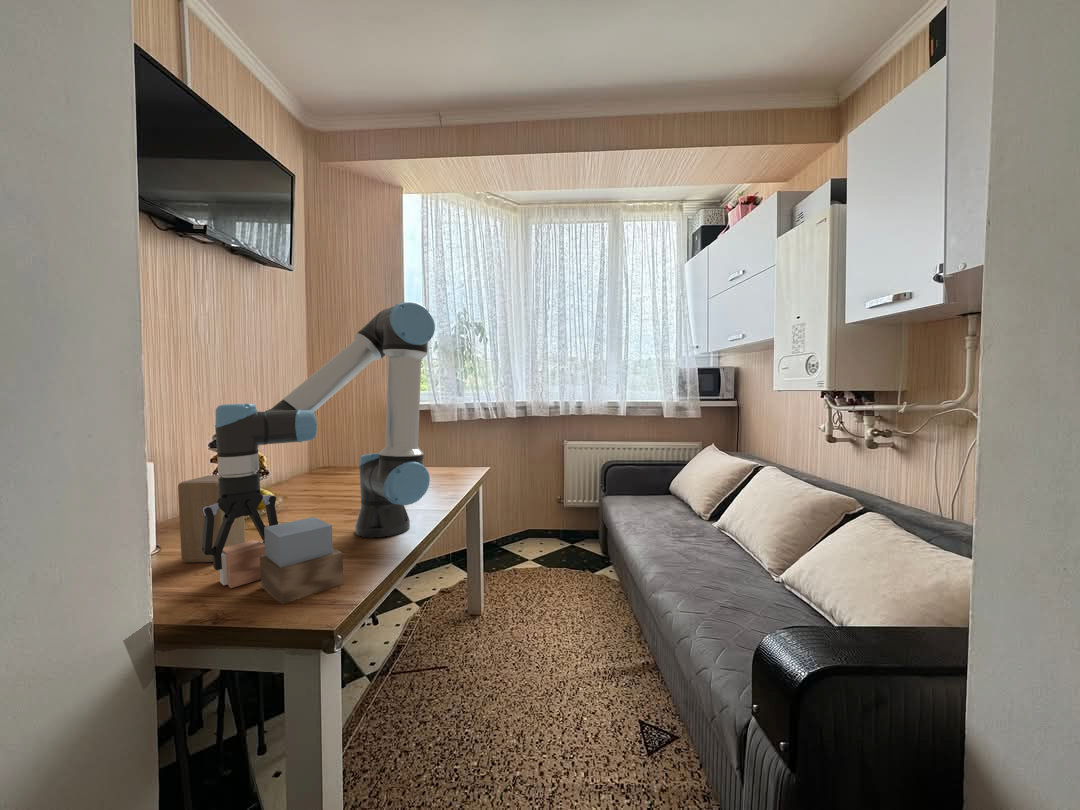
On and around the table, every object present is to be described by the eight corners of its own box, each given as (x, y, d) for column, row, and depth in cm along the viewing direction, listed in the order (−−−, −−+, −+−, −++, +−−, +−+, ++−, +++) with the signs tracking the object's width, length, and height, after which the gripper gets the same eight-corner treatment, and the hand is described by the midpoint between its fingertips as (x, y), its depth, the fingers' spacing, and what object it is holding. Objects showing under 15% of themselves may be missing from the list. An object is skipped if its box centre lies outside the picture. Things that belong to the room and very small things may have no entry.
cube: (257, 569, 105) (255, 539, 105) (267, 577, 100) (266, 545, 100) (221, 579, 100) (219, 548, 99) (230, 588, 95) (229, 555, 95)
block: (210, 549, 120) (207, 474, 119) (247, 549, 120) (244, 474, 119) (179, 564, 110) (175, 482, 109) (219, 563, 110) (215, 481, 109)
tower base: (319, 570, 104) (318, 540, 104) (343, 584, 96) (342, 552, 96) (261, 588, 95) (259, 555, 95) (282, 605, 87) (280, 570, 87)
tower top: (315, 543, 102) (314, 516, 102) (332, 553, 95) (331, 525, 95) (265, 555, 95) (264, 527, 95) (280, 567, 88) (279, 537, 88)
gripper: (282, 465, 109) (286, 559, 110) (178, 479, 94) (184, 588, 95) (294, 468, 104) (299, 567, 105) (186, 484, 89) (193, 598, 90)
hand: (244, 577), depth 100 cm, fingers closed on cube, 7 cm apart
